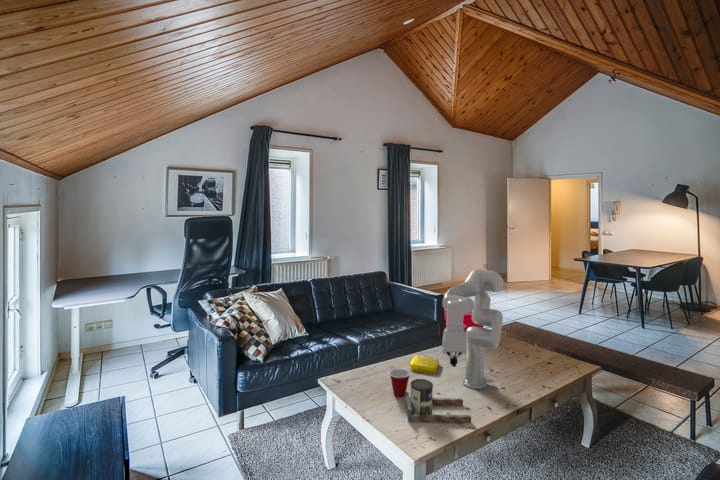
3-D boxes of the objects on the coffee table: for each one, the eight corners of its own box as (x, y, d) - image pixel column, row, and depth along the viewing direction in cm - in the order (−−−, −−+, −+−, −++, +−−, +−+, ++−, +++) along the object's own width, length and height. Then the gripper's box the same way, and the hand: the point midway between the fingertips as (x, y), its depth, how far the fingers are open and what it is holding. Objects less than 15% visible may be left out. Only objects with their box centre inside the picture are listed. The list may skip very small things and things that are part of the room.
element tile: (409, 370, 225) (409, 363, 225) (415, 360, 239) (415, 353, 239) (435, 375, 220) (435, 367, 219) (439, 364, 234) (439, 357, 233)
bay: (462, 404, 188) (462, 392, 187) (471, 423, 172) (471, 410, 171) (404, 403, 188) (405, 391, 188) (408, 422, 173) (408, 409, 172)
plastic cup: (401, 387, 204) (401, 365, 203) (414, 396, 195) (414, 374, 194) (384, 392, 199) (384, 370, 197) (396, 402, 190) (397, 379, 188)
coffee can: (433, 408, 184) (434, 380, 182) (430, 420, 174) (431, 390, 173) (412, 404, 187) (413, 377, 186) (407, 416, 178) (408, 387, 176)
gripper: (468, 324, 179) (467, 361, 182) (436, 324, 180) (435, 361, 182) (473, 330, 172) (471, 369, 174) (439, 330, 172) (438, 369, 174)
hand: (453, 365), depth 178 cm, fingers closed
